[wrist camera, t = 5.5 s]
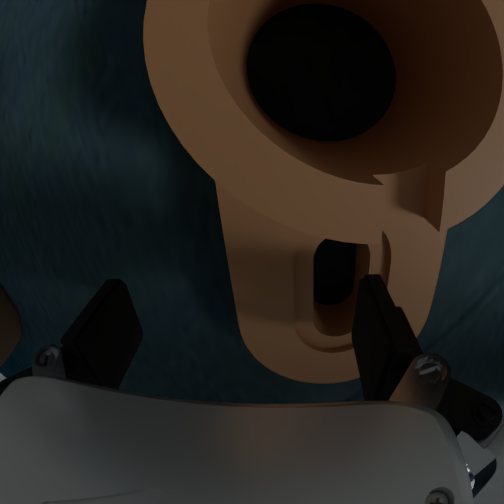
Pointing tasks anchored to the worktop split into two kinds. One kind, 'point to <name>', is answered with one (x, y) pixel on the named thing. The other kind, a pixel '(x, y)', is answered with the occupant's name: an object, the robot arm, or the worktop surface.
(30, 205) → the worktop surface
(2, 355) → the beer bottle
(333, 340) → the bracket
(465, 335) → the worktop surface
